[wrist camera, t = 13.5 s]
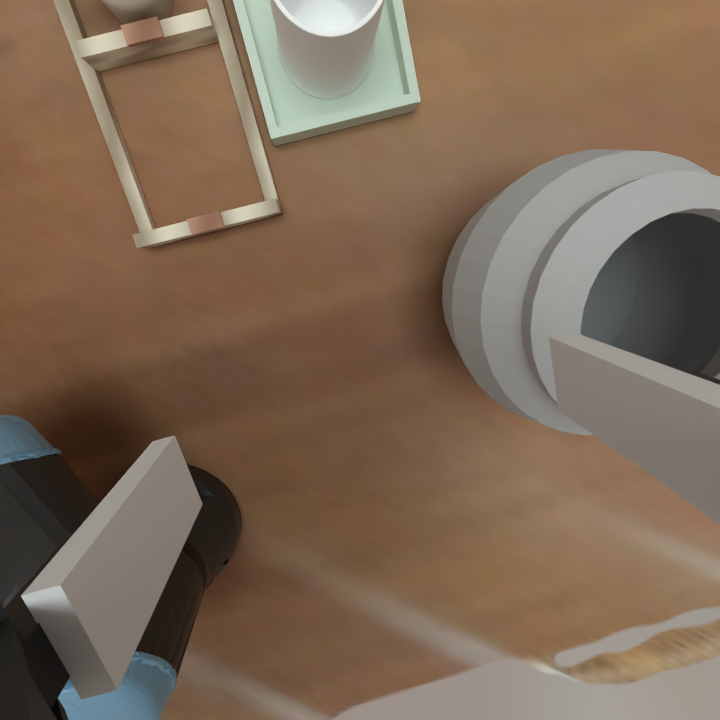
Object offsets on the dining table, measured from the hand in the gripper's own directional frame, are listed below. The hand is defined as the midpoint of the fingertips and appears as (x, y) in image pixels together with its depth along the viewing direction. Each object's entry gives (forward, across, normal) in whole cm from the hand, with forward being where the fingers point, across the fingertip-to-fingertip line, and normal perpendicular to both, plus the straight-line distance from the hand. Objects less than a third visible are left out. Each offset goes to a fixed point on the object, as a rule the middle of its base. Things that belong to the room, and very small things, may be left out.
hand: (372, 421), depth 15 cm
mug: (+31, +5, +24) cm, 39 cm away
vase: (+32, +17, -2) cm, 36 cm away
